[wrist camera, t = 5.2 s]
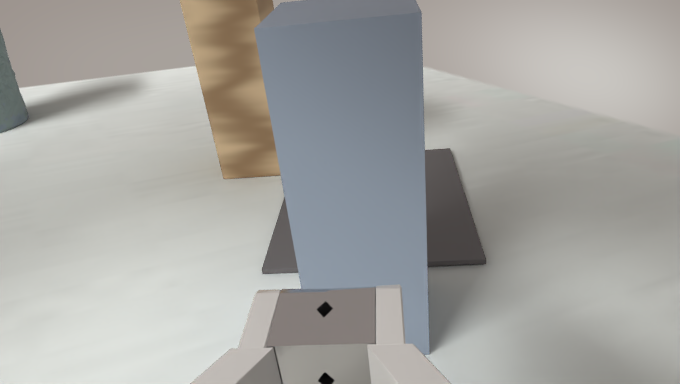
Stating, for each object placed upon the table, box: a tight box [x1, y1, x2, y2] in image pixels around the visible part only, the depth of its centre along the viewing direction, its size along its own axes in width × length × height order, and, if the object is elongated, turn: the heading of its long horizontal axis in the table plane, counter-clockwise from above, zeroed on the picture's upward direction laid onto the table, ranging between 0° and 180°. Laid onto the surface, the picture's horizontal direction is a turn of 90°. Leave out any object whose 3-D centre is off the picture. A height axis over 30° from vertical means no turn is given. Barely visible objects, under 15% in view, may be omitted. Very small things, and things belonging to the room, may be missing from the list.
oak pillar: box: [180, 0, 281, 179], centre depth 37 cm, size 5×5×14 cm
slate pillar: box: [254, 0, 429, 354], centre depth 20 cm, size 5×5×14 cm
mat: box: [262, 148, 486, 274], centre depth 33 cm, size 12×14×1 cm
